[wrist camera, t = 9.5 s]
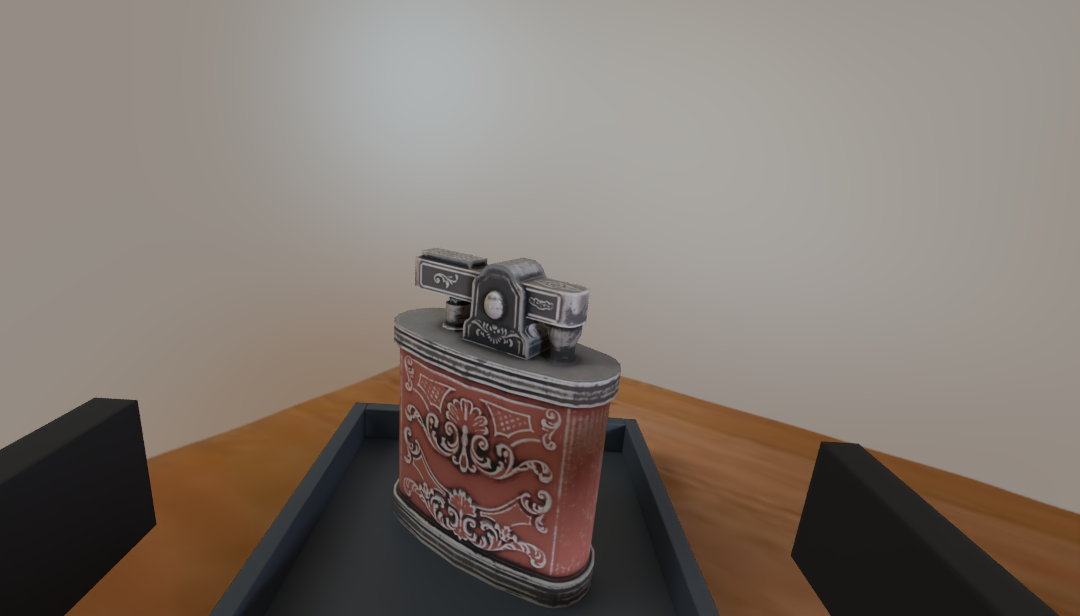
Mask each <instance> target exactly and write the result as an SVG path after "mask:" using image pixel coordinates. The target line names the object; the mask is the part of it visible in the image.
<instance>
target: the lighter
mask: <svg viewBox="0 0 1080 616" xmlns="http://www.w3.org/2000/svg"><path fill="white" fill-rule="evenodd" d="M415 281H416V282H415V286H417V287H418V288H421V289H425V290H429V291H432V292H436V293H439V294H443V295H447V296H450V300H449V301H447V302H446V309H445V308H424V309H416V310H410V311H406V312H404V313H401V314H399V315H398V316H396V317H395V325H394V331H395V333H394V336H395V337H394V340H395V341H394V342H395V343H396V344H397V345H398V346H399V347H400V431H399V479H398V480H397V482H396V483H395V485H394V514H395V516H396V518H397V519H398V520H399V521H400V522H401V523H402V524H403V525H404V526H405V527H406V528H407V529H408V530H409V531H410V532H411V533H413V534H414V535H415V536H416V537H417V538H418V539H419V540H420V541H421V542H422V543H424V544H425V545H426V546H428V547H429V548H430V549H432V550H433V551H435V552H436V553H437V554H439V555H440V556H441V557H443V558H444V559H446V560H447V561H448V562H450V563H451V564H452V565H454V566H456V567H457V568H459V569H461V570H463V571H465V572H467V573H469V574H471V575H472V576H474V577H476V578H478V579H480V580H482V581H484V582H486V583H487V584H489V585H491V586H493V587H495V588H497V589H500V590H502V591H505V592H507V593H510V594H512V595H515V596H517V597H520V598H522V599H525V600H527V601H530V602H532V603H535V604H537V605H540V606H544V607H548V608H561V607H567V606H569V605H572V604H574V603H576V602H578V601H579V600H580V599H581V598H582V597H583V596H584V595H585V594H586V593H587V591H588V589H589V587H590V585H591V581H592V574H593V567H594V549H593V547H592V545H591V540H592V532H593V525H594V517H595V510H596V503H597V495H598V488H599V480H600V473H601V466H602V458H603V451H604V443H605V436H606V429H607V421H608V414H609V406H610V401H612V400H613V399H614V398H615V397H616V395H617V394H618V387H619V379H620V372H621V368H620V364H619V363H618V362H617V360H616V359H614V358H612V357H610V356H609V355H607V354H604V353H602V352H599V351H596V350H594V349H591V348H588V347H586V346H583V345H581V344H578V343H577V342H578V339H579V338H580V336H581V333H582V325H583V324H584V323H586V317H587V307H588V299H589V288H588V287H585V286H582V285H578V284H573V283H568V282H564V281H559V280H555V279H551V278H547V277H546V276H545V273H544V270H543V268H542V267H541V265H540V264H539V263H537V262H536V261H535V260H530V259H526V258H520V259H515V260H510V261H505V262H500V263H495V264H491V265H488V264H487V259H486V258H482V257H478V256H473V255H468V254H464V253H459V252H455V251H450V250H445V249H439V248H431V249H423V250H422V255H420V256H417V257H416V278H415Z"/></svg>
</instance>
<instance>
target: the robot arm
mask: <svg viewBox="0 0 1080 616" xmlns="http://www.w3.org/2000/svg"><path fill="white" fill-rule="evenodd" d="M155 525H156V518H155V512H154V505H153V499H152V492H151V486H150V479H149V473H148V466H147V460H146V454H145V446H144V440H143V433H142V427H141V421H140V414H139V407H138V401H137V400H124V399H108V398H107V399H106V398H93V399H92V400H90V401H88V402H86V403H84V404H82V405H81V406H79V407H77V408H75V409H73V410H72V411H70V412H68V413H66V414H64V415H62V416H61V417H59V418H57V419H55V420H54V421H52V422H50V423H48V424H46V425H45V426H43V427H41V428H39V429H37V430H35V431H34V432H32V433H30V434H28V435H26V436H24V437H23V438H21V439H19V440H17V441H15V442H14V443H12V444H10V445H8V446H6V447H5V448H3V449H1V450H0V616H64V615H65V614H66V613H67V612H68V611H69V610H70V609H71V608H72V607H73V606H74V605H75V604H76V603H77V602H78V601H79V600H80V599H81V598H83V597H84V596H85V595H86V594H87V593H88V592H89V591H90V590H91V589H92V588H93V587H94V586H95V585H96V584H97V583H98V582H99V581H100V580H101V579H102V578H103V577H104V576H105V575H106V574H107V573H108V572H109V571H110V570H111V569H112V568H113V567H114V566H115V565H116V564H117V563H118V562H119V561H120V560H121V559H122V558H123V557H124V556H125V555H126V554H127V553H128V552H129V551H130V550H131V549H132V548H133V547H134V546H135V545H136V544H137V543H138V542H139V541H140V540H141V539H142V538H143V537H144V536H145V535H146V534H147V533H148V532H149V531H150V530H151V529H152V528H153V527H154V526H155ZM791 557H792V558H793V560H794V561H795V563H796V564H797V566H798V567H799V569H800V570H801V572H802V573H803V575H804V576H805V578H806V579H807V581H808V582H809V584H810V585H811V587H812V588H813V590H814V591H815V593H816V594H817V596H818V597H819V599H820V600H821V602H822V603H823V605H824V606H825V608H826V609H827V611H828V612H829V614H830V615H831V616H1059V615H1058V614H1057V613H1056V612H1055V611H1053V610H1052V609H1051V608H1050V607H1049V606H1048V605H1046V604H1045V603H1044V602H1043V601H1042V600H1041V599H1039V598H1038V597H1037V596H1036V595H1035V594H1034V593H1032V592H1031V591H1030V590H1029V589H1028V588H1027V587H1025V586H1024V585H1023V584H1022V583H1021V582H1020V581H1018V580H1017V579H1016V578H1015V577H1014V576H1012V575H1011V574H1010V573H1009V572H1008V571H1007V570H1005V569H1004V568H1003V567H1002V566H1001V565H1000V564H998V563H997V562H996V561H995V560H994V559H993V558H991V557H990V556H989V555H988V554H987V553H986V552H984V551H983V550H982V549H981V548H980V547H979V546H977V545H976V544H975V543H974V542H973V541H972V540H970V539H969V538H968V537H967V536H966V535H965V534H963V533H962V532H961V531H960V530H959V529H958V528H956V527H955V526H954V525H953V524H952V523H951V522H949V521H948V520H947V519H946V518H945V517H944V516H942V515H941V514H940V513H939V512H938V511H936V510H935V509H934V508H933V507H932V506H931V505H929V504H928V503H927V502H926V501H925V500H924V499H922V498H921V497H920V496H919V495H918V494H917V493H915V492H914V491H913V490H912V489H911V488H910V487H908V486H907V485H906V484H905V483H904V482H903V481H901V480H900V479H899V478H898V477H897V476H896V475H894V474H893V473H892V472H891V471H890V470H889V469H887V468H886V467H885V466H884V465H883V464H882V463H880V462H879V461H878V460H877V459H876V458H875V457H873V456H872V455H871V454H870V453H869V452H868V451H866V450H865V449H864V448H863V447H862V446H860V445H859V444H854V443H837V442H821V444H820V448H819V452H818V455H817V459H816V463H815V467H814V470H813V474H812V478H811V482H810V485H809V489H808V493H807V497H806V500H805V504H804V508H803V512H802V515H801V519H800V523H799V527H798V530H797V534H796V538H795V542H794V546H793V549H792V553H791Z"/></svg>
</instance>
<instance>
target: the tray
mask: <svg viewBox="0 0 1080 616" xmlns="http://www.w3.org/2000/svg"><path fill="white" fill-rule="evenodd" d="M399 431H400V405H392V404H375V403H369V404H368V403H359V402H357V403H355V405H354V406H353V408H352V409H351V410H350V412H349V413H348V415H347V416H346V418H345V419H344V421H343V422H342V424H341V425H340V426H339V428H338V429H337V431H336V432H335V434H334V435H333V437H332V438H331V440H330V441H329V442H328V444H327V445H326V447H325V448H324V450H323V451H322V453H321V454H320V455H319V457H318V458H317V460H316V461H315V463H314V464H313V466H312V467H311V469H310V470H309V471H308V473H307V474H306V476H305V477H304V479H303V480H302V482H301V483H300V485H299V486H298V487H297V489H296V490H295V492H294V493H293V495H292V496H291V498H290V499H289V500H288V502H287V503H286V505H285V506H284V508H283V509H282V511H281V512H280V514H279V515H278V516H277V518H276V519H275V521H274V522H273V524H272V525H271V527H270V528H269V530H268V531H267V532H266V534H265V535H264V537H263V538H262V540H261V541H260V543H259V544H258V545H257V547H256V548H255V550H254V551H253V553H252V554H251V556H250V557H249V559H248V560H247V561H246V563H245V564H244V566H243V567H242V569H241V570H240V572H239V573H238V575H237V576H236V577H235V579H234V580H233V582H232V583H231V585H230V586H229V588H228V589H227V590H226V592H225V593H224V595H223V596H222V598H221V599H220V601H219V602H218V604H217V605H216V606H215V608H214V609H213V611H212V612H211V614H210V615H209V616H720V615H719V613H718V611H717V608H716V606H715V604H714V601H713V599H712V597H711V594H710V592H709V590H708V587H707V585H706V583H705V580H704V578H703V576H702V573H701V571H700V569H699V566H698V564H697V562H696V559H695V557H694V555H693V552H692V550H691V548H690V545H689V543H688V541H687V538H686V536H685V534H684V531H683V529H682V527H681V524H680V522H679V520H678V517H677V515H676V513H675V510H674V508H673V506H672V503H671V501H670V499H669V496H668V494H667V492H666V489H665V487H664V485H663V482H662V480H661V478H660V475H659V473H658V471H657V468H656V466H655V464H654V461H653V459H652V457H651V454H650V452H649V450H648V447H647V445H646V443H645V440H644V438H643V436H642V433H641V431H640V429H639V426H638V424H637V422H636V420H635V419H623V418H608V421H607V429H606V436H605V443H604V451H603V458H602V466H601V473H600V480H599V488H598V495H597V503H596V510H595V517H594V525H593V532H592V540H591V545H592V547H593V549H594V567H593V574H592V581H591V585H590V587H589V589H588V591H587V593H586V594H585V595H584V596H583V597H582V598H581V599H580V600H579V601H578V602H576V603H574V604H572V605H569V606H567V607H561V608H548V607H544V606H540V605H537V604H535V603H532V602H530V601H527V600H525V599H522V598H520V597H517V596H515V595H512V594H510V593H507V592H505V591H502V590H500V589H497V588H495V587H493V586H491V585H489V584H487V583H486V582H484V581H482V580H480V579H478V578H476V577H474V576H472V575H471V574H469V573H467V572H465V571H463V570H461V569H459V568H457V567H456V566H454V565H452V564H451V563H450V562H448V561H447V560H446V559H444V558H443V557H441V556H440V555H439V554H437V553H436V552H435V551H433V550H432V549H430V548H429V547H428V546H426V545H425V544H424V543H422V542H421V541H420V540H419V539H418V538H417V537H416V536H415V535H414V534H413V533H411V532H410V531H409V530H408V529H407V528H406V527H405V526H404V525H403V524H402V523H401V522H400V521H399V520H398V519H397V518H396V516H395V514H394V485H395V483H396V482H397V480H398V479H399Z"/></svg>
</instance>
